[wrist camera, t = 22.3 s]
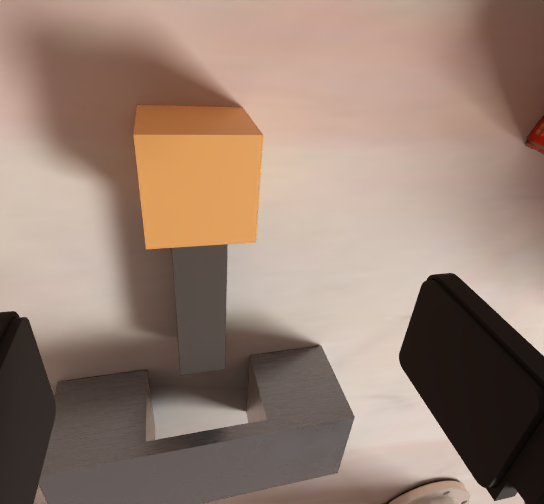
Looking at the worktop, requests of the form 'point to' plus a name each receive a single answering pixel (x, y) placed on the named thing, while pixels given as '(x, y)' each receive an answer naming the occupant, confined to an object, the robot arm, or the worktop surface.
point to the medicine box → (537, 137)
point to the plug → (198, 211)
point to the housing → (196, 437)
